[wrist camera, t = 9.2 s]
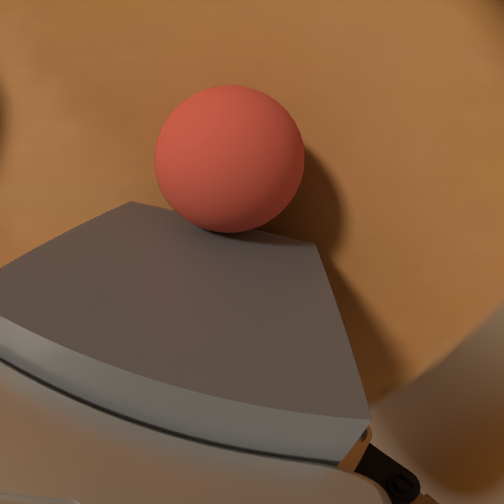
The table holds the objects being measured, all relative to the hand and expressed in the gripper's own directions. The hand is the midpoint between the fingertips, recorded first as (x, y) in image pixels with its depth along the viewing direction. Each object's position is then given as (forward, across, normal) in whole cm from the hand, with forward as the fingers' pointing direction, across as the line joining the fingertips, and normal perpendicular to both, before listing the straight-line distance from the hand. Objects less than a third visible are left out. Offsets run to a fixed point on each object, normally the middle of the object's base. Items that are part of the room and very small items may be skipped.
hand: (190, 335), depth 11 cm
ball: (+1, 0, -6) cm, 6 cm away
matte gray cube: (+2, 0, 0) cm, 2 cm away
